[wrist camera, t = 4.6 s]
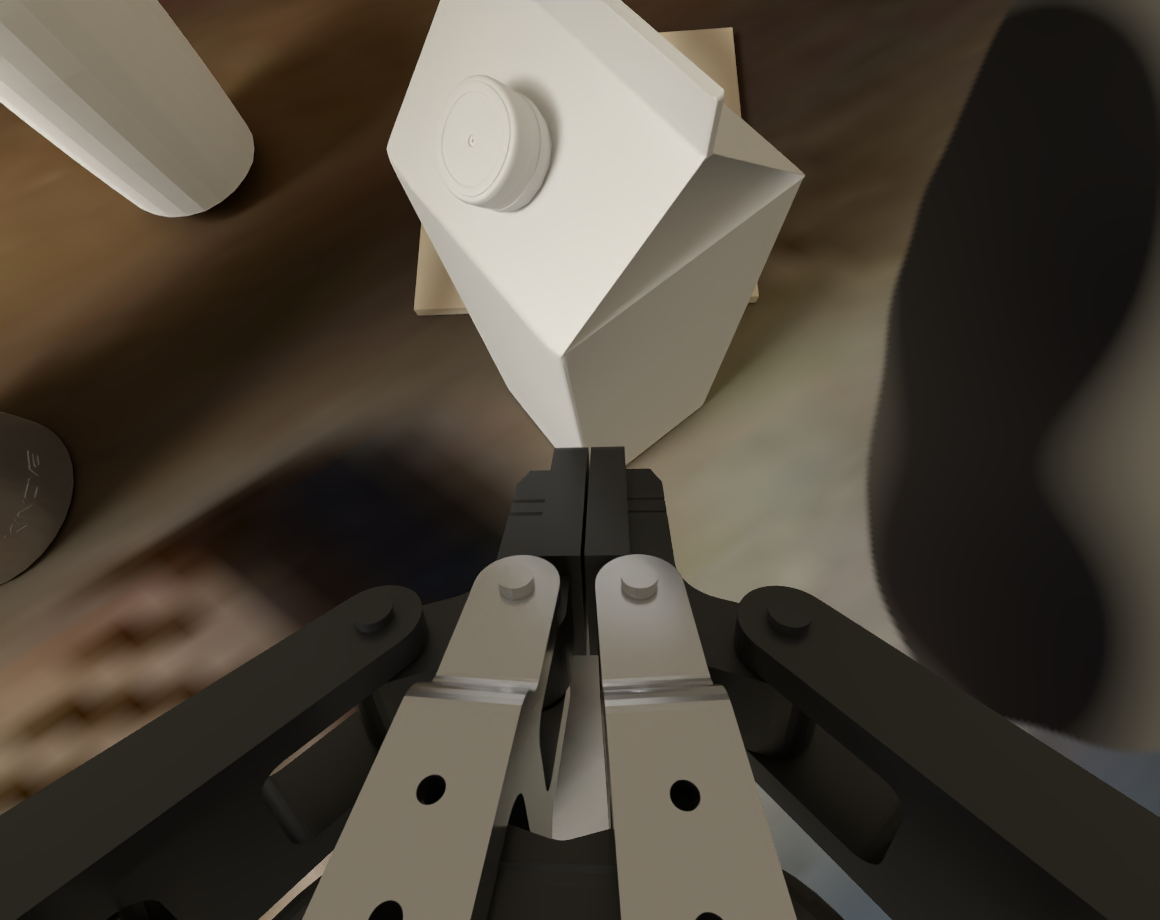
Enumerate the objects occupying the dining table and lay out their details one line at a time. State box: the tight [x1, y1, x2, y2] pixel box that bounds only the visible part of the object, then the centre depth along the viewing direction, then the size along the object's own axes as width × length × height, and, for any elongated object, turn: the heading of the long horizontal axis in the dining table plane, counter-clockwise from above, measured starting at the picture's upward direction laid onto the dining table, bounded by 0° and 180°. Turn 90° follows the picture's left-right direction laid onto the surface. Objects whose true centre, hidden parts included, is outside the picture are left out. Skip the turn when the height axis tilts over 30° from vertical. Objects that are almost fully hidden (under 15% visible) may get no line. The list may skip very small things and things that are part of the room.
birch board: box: [414, 27, 759, 316], centre depth 30 cm, size 18×18×1 cm
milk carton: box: [387, 0, 805, 465], centre depth 18 cm, size 7×7×19 cm
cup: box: [0, 0, 254, 217], centre depth 25 cm, size 8×8×14 cm
